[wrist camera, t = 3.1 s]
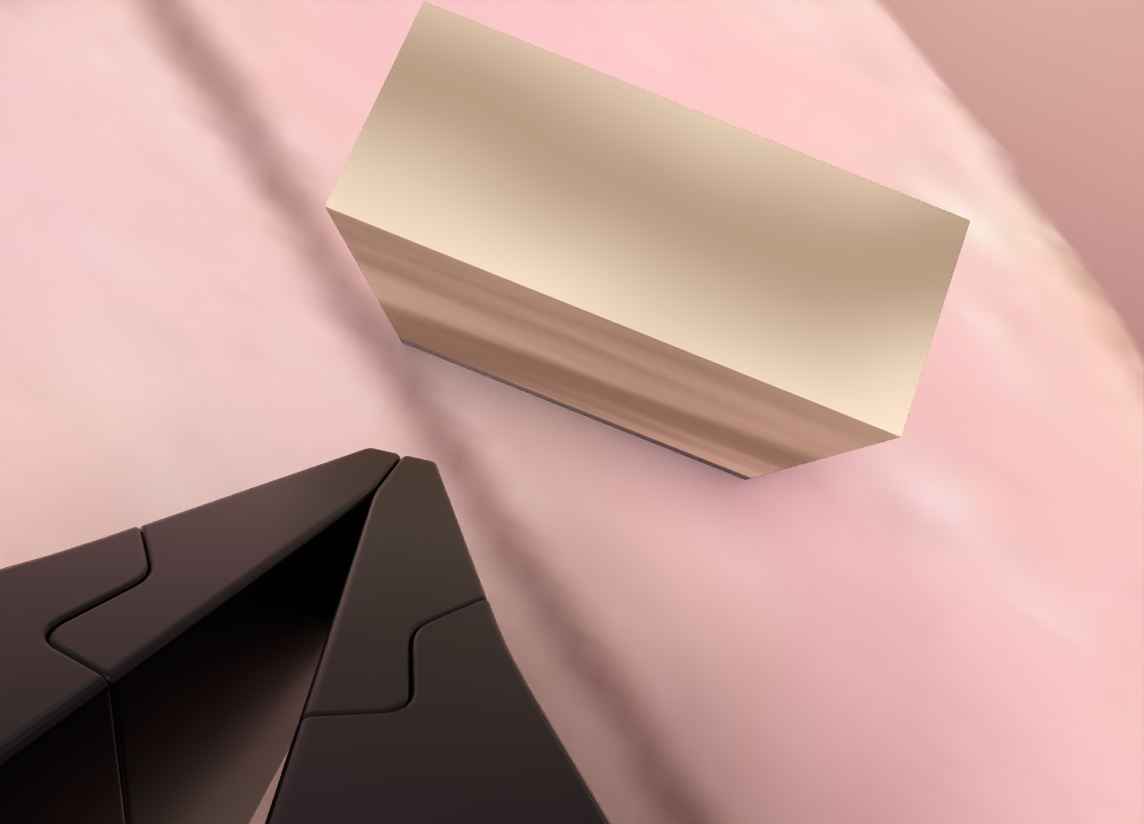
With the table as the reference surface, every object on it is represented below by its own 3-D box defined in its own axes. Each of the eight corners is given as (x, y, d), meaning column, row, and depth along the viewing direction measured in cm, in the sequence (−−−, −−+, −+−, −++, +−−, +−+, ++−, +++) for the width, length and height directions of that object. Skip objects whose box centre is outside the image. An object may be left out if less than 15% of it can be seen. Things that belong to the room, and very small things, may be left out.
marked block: (744, 479, 22) (900, 436, 13) (402, 342, 22) (325, 206, 13) (791, 347, 23) (969, 220, 14) (459, 214, 23) (423, 0, 14)
